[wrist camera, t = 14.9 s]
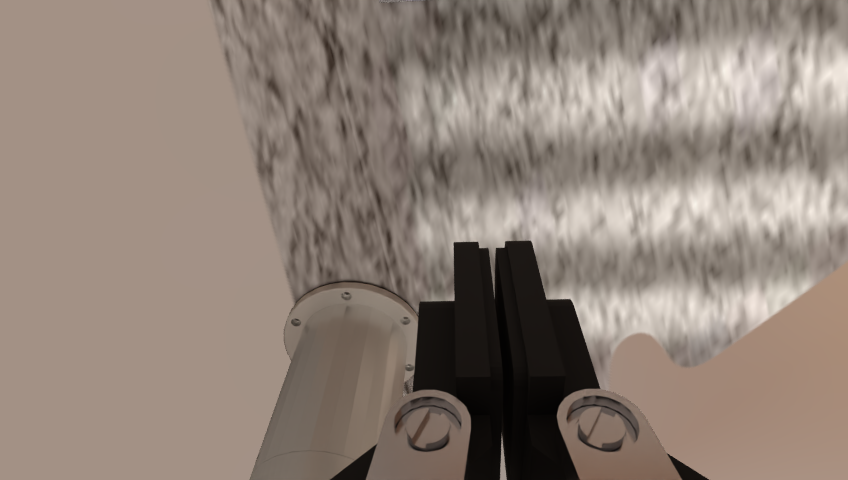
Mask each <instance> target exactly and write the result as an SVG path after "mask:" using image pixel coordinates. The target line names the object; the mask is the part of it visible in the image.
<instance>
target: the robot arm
mask: <svg viewBox="0 0 848 480" xmlns="http://www.w3.org/2000/svg"><path fill="white" fill-rule="evenodd" d="M454 291H455V301H433V302H420V304H419V316H417V314H416V313H415V312H414V311H413V309H412V308H411V307H410V306H409V305H408V304H407V303H406V302H404V301H403V300H402V299H400V298H399V297H398V296H396V295H394V294H392V293H391V292H389V291H387V290H385V289H382V288H379V287H376V286H373V285H369V284H363V283H355V282H342V283H334V284H329V285H326V286H322V287H319V288H317V289H315V290H313V291H311V292H309V293H307V294H306V295H305V296H303V297H302V298H301V299H300V300H299V301H298V302H297V303H296V304H295V306H294V307H293V308H292V310H291V312H290V314H289V316H288V319H287V321H286V325H285V329H284V343H285V347H286V351H287V353H288V355H289V357H290V359H291V364H290V366H289V369H288V372H287V375H286V378H285V381H284V384H283V386H282V389H281V392H280V395H279V398H278V401H277V403H276V406H275V409H274V412H273V415H272V417H271V421H270V423H269V426H268V429H267V432H266V434H265V437H264V440H263V443H262V446H261V449H260V452H259V455H258V457H257V460H256V463H255V466H254V469H253V472H252V474H251V477H250V480H500V463H501V436H502V438H503V448H504V456H505V467H506V477H507V480H709V479H707V478H705V477H704V476H702V475H701V474H699V473H697V472H696V471H694V470H693V469H691V468H690V467H688V466H686V465H685V464H683V463H682V462H680V461H678V460H677V459H675V458H674V457H672V456H670V455H669V454H667V453H666V451H665V450H664V448H663V446H662V445H661V443H660V441H659V439H658V438H657V436H656V434H655V432H654V431H653V429H652V427H651V426H650V424H649V422H648V420H647V419H646V417H645V416H644V414H643V413H642V412H641V411H640V409H639V408H638V407H637V406H636V405H635V404H633V403H632V402H631V401H629V400H628V399H627V398H625V397H623V396H621V395H618V394H616V393H614V392H611V391H606V390H602V389H600V386H599V383H598V380H597V377H596V374H595V371H594V368H593V364H592V361H591V358H590V355H589V352H588V349H587V346H586V342H585V339H584V336H583V333H582V330H581V327H580V324H579V321H578V317H577V314H576V311H575V308H574V305H573V303H572V301H571V300H570V299H557V300H546V297H545V293H544V289H543V285H542V281H541V277H540V273H539V269H538V265H537V261H536V257H535V253H534V249H533V245H532V242H531V241H506V242H505V248H496V254H495V299H494V291H493V283H492V274H491V266H490V257H489V249H488V248H479V243H478V242H454ZM413 375H414V382H413V392H412V393H409V394H407V395H406V396H404V397H403V389H404V382H406V381H407V380H409V379H410V378H411V377H412V376H413Z"/></svg>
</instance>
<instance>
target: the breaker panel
mask: <svg viewBox="0 0 848 480" xmlns="http://www.w3.org/2000/svg"><path fill="white" fill-rule="evenodd" d="M403 1H423V0H379V3H383V2H403Z"/></svg>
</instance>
